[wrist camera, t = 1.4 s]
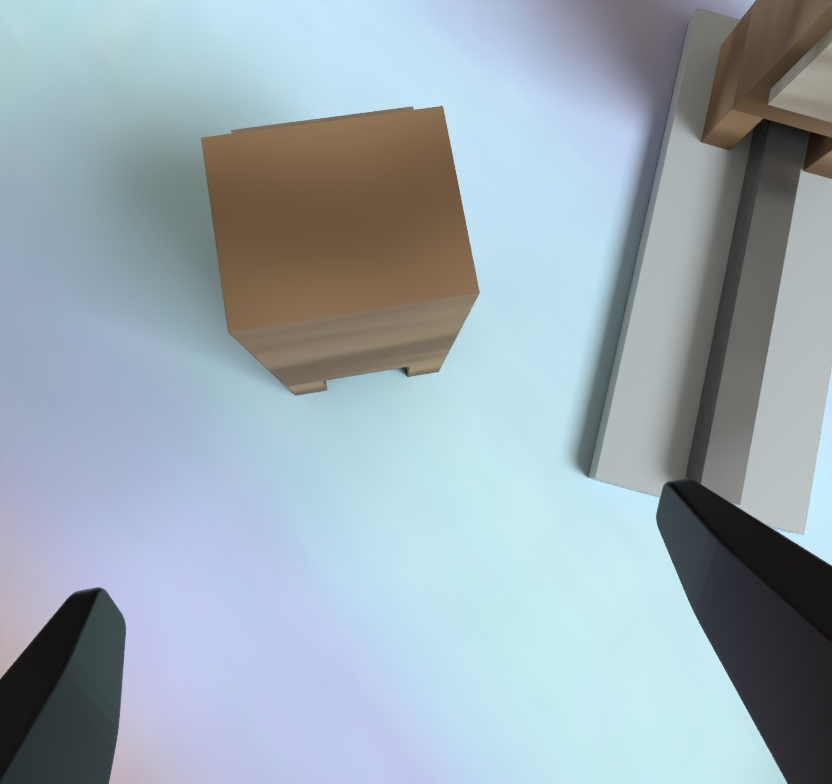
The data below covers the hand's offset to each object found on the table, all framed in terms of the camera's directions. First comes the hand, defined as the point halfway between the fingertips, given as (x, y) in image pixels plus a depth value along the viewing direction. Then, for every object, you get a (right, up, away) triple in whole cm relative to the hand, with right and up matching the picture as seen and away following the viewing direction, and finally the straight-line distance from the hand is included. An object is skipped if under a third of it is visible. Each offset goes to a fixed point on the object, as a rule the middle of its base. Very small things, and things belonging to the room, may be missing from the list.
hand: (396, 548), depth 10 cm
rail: (+13, +8, +15) cm, 21 cm away
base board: (+13, +8, +15) cm, 21 cm away
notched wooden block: (-2, +5, +14) cm, 15 cm away
